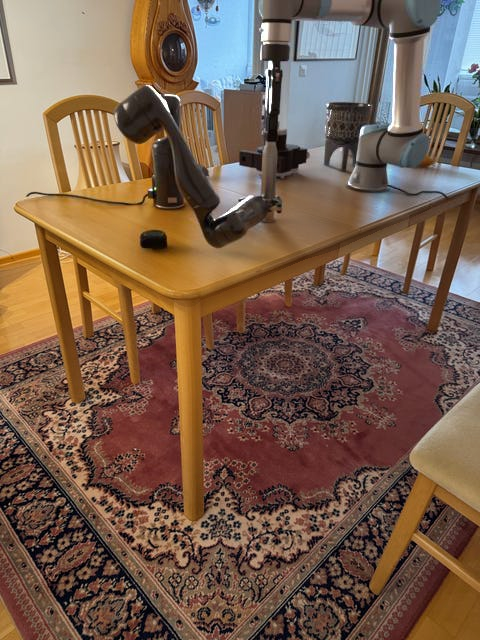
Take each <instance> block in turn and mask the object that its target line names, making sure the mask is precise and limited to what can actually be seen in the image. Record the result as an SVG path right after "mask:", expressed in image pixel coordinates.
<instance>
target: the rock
mask: <svg viewBox="0 0 480 640" xmlns="http://www.w3.org/2000/svg"><path fill="white" fill-rule="evenodd" d="M197 164H198V165H199V167H200V169H201V170H202V172H203V174H204V175H205V177H206V178H207V177H210V173H209V172H210V171H209V169H208V168H207V167H206V166H205V165H202V164H200V163H197Z"/></svg>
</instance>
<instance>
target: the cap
mask: <svg viewBox="0 0 480 640" xmlns="http://www.w3.org/2000/svg"><path fill="white" fill-rule="evenodd" d="M264 140H265V141H267V131H265V132H264V131H263V141H264ZM277 141H278V132H277Z"/></svg>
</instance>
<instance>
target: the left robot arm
mask: <svg viewBox="0 0 480 640" xmlns="http://www.w3.org/2000/svg"><path fill="white" fill-rule="evenodd" d="M113 118H114V122H115V125H116V127H117V129H118V131H119V132H120V134H121V135H122V136H123V137H124V138H125V139H127V140H128V141H129V142H131V143H133V144H134V145H135V144H136V145H143V144H144V143H146V142H148V141H149V140H150V139H152V138H153V137H154V136H155V135H157V134H159V133H162V132H164V133H165V134H166V135H165V136H163V137H161V138H158V139H156V140H154V141H152V142H151V155H152V168H153V175H152V176H151V188H150V189H148V190H147V193H146V194H145V195H144V196H143V197H142V200H141V201H140V202H137V203H131V202H124V201H111V200H104V199H99V198H92V197H88V196H83V195H78V194H69V193H45V192H39V191H31V192H28V193H27V194H26V195H25V198H29V197H30V196H32V195H40V196H41V195H42V196H47V197H70V198H77V199H83V200H89V201H93V202H99V203H104V204H112V205H125V206H138V205H142V204H144V203H145V201H146V198H148V199H150V200H152V201H153V203H152V204H153V207H156V208H157V209H161V210H177V209H181V208H183V207H184V206H185V201H186V203H187V204H188V206H189V207H190V208H191V210H192V211H193V212H194V213H193V214H194V215H195V217H196V220H197V222H198V224H199V226H200V229H201V233H202V235H203V238H204V240H205V241H206V243H207V244H208V245H209V246H211V248H214V249H222V248H224V247H227V246H228V245H231V244H232V243H235V242H237V241H239V240H240V239H243V237H245V236H246V235H247V234H248V231H249V230H251V229H253V228H254V227H256V226H257V225H258V224H260V223H261V221H262V220H263V219H264V218H265V217H266V216H267V214H268V213H269V212H272V210H274V211H275V212H276V213H277V214H282V210H283V199H281V196H280V195H278V194H277V195H275V197H274V198H273V199H272V198H267V199H263V198H261V193H260V194H258V195H257V194H256V195H255V194H254V195H251V194H250V195H249V194H248V195H246V196H243V197H240V198H238V199H237V204H236V205H235V206H234V207H232V208H231V209H230V210H228V212H226V213H224V214H222V215H220V216H219V217H217V218H215V217H214V215H213V212H214V211H215V210H216V209H217V208H218V207H219V206H220V203H221V198H220V196H219V194H218V193H217V191H216V190H215V189H214V187H213V186H212V183H210V182H211V181H209V179H208V178H207V176H206V177H205V175H204V174H203V172H202V170H201V169H200V167H199V165H198V164H199V163H198V162H197V160H196V158H195V156H194V154H193V151H192V150H191V149H190V147H189V144H188V143H187V140H186V139H185V137H184V135H183V133H182V107H181V99H180V98H179V96H178V95H174V94H159V93H158V92H157V91H156V90H155V89H154V88H153V87H152V86H150V85H148V84H143V85H141V86H140V87H138V88H137V89H136V90H134V91H133V92H132V93H130V94H129V95H128V96H127V97H126V98H124V99H123V100H122V101H120V103H118V104H117V105H116V106H115V108H114V110H113Z"/></svg>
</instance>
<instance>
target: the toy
mask: <svg viewBox="0 0 480 640" xmlns="http://www.w3.org/2000/svg"><path fill="white" fill-rule="evenodd" d="M434 164H435V160H434V159H433V158H430V156H429V155H428V154H427V155H426V157H425V158H424V159H423V161H422V162H421V163H420V164H419V165H418V166H417V167H418V168H421V169H422V168H423V169H424V168H426V167H430V166H433V165H434Z"/></svg>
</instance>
